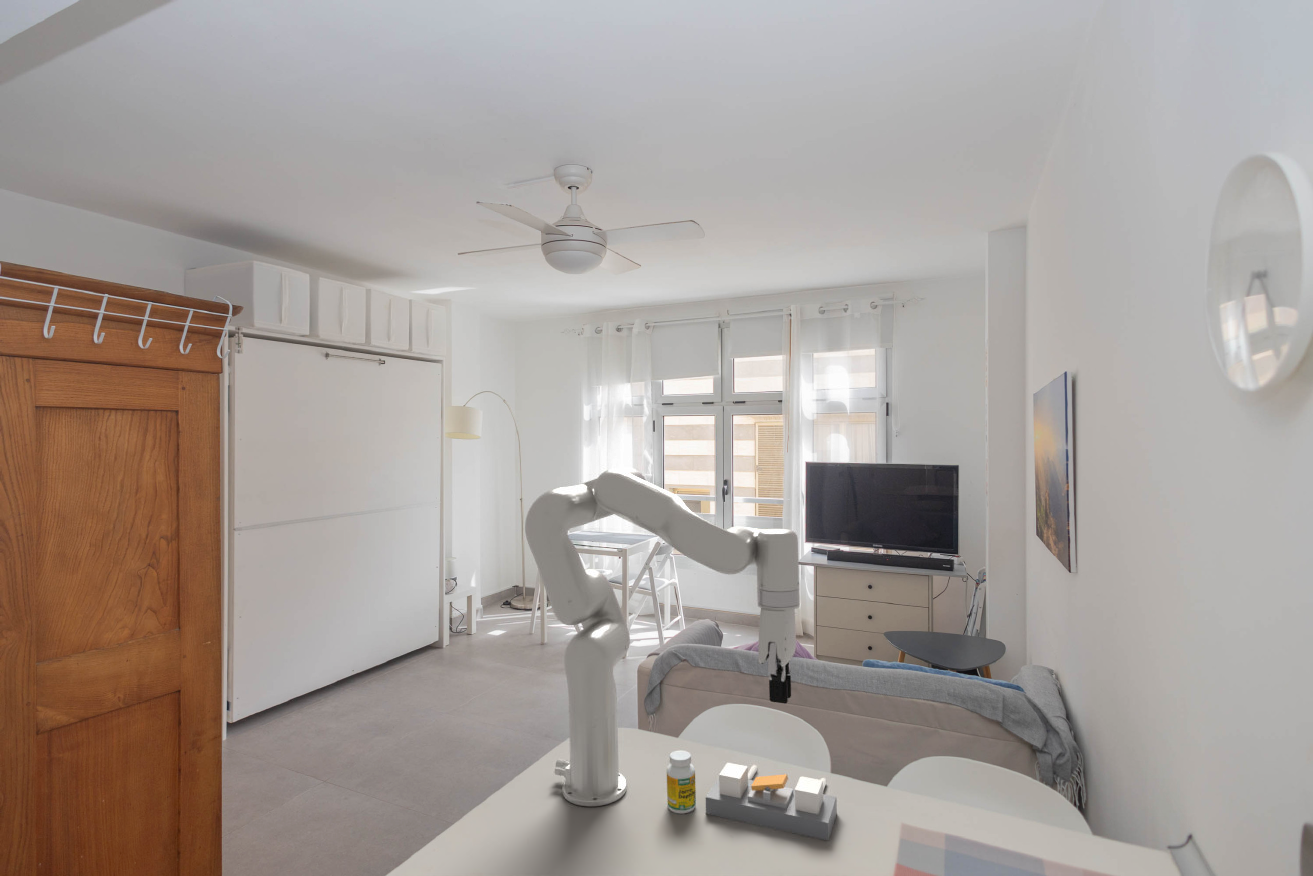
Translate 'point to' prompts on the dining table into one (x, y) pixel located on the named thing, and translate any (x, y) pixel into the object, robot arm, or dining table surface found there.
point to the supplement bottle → (681, 783)
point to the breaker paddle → (769, 782)
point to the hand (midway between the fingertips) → (780, 698)
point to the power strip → (773, 803)
